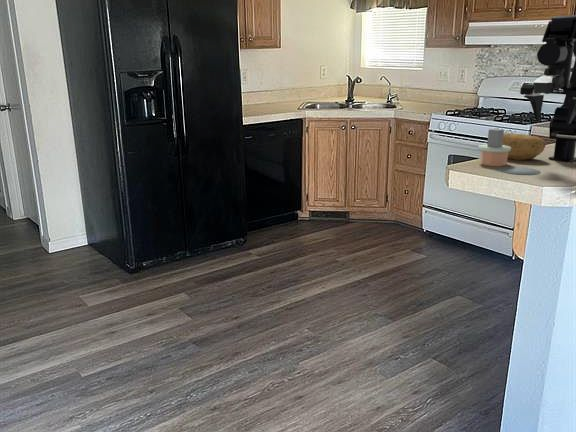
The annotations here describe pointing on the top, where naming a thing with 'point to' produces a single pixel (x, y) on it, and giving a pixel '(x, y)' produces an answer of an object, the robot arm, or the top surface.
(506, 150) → the lid
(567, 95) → the robot arm
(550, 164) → the top surface
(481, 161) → the cup
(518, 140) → the potato
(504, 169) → the mat
